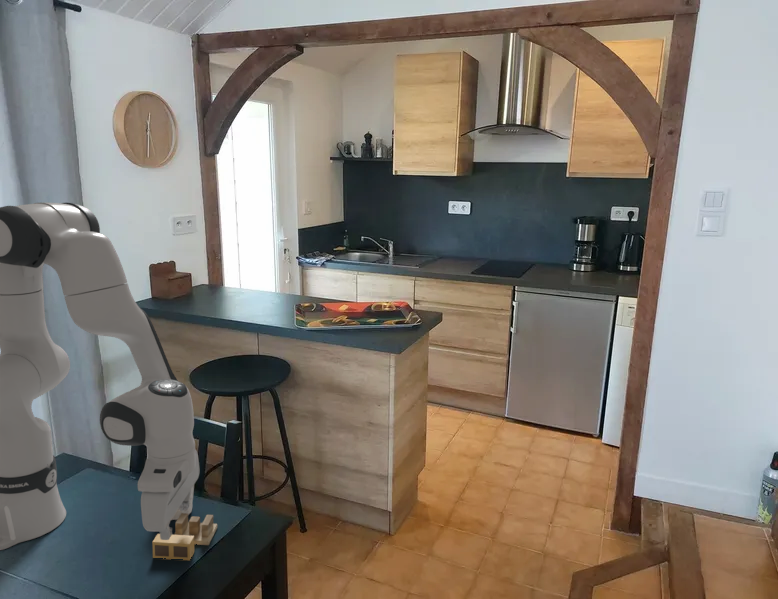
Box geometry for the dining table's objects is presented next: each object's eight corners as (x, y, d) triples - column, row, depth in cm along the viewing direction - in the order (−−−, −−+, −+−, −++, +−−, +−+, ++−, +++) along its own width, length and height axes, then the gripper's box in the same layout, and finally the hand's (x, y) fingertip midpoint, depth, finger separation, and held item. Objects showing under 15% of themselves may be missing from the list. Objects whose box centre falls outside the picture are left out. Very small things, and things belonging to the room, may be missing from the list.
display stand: (171, 543, 117) (170, 526, 116) (181, 525, 123) (181, 509, 122) (208, 545, 117) (208, 528, 116) (217, 527, 123) (217, 511, 122)
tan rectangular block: (152, 559, 112) (152, 542, 111) (158, 550, 115) (157, 533, 114) (189, 561, 112) (189, 544, 111) (194, 552, 115) (194, 535, 114)
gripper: (176, 436, 118) (179, 493, 121) (132, 488, 98) (137, 555, 101) (205, 437, 118) (207, 494, 121) (167, 489, 98) (171, 556, 101)
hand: (175, 522), depth 111 cm, fingers open, 8 cm apart
